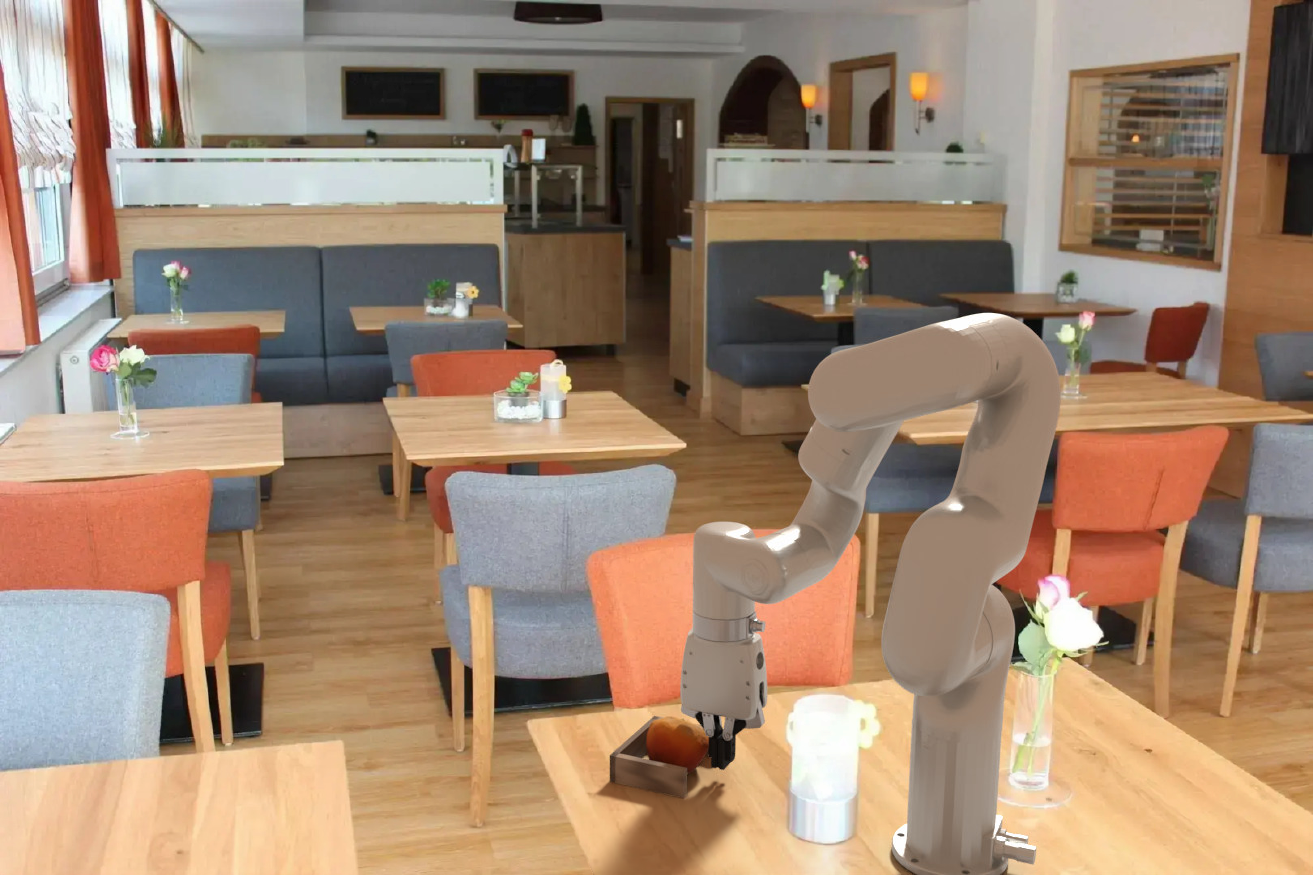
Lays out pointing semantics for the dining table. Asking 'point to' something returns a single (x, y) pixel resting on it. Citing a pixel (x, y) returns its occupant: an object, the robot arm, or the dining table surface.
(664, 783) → the u-shaped wall frame
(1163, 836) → the dining table surface
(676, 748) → the fruit
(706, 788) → the dining table surface
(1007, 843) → the robot arm
